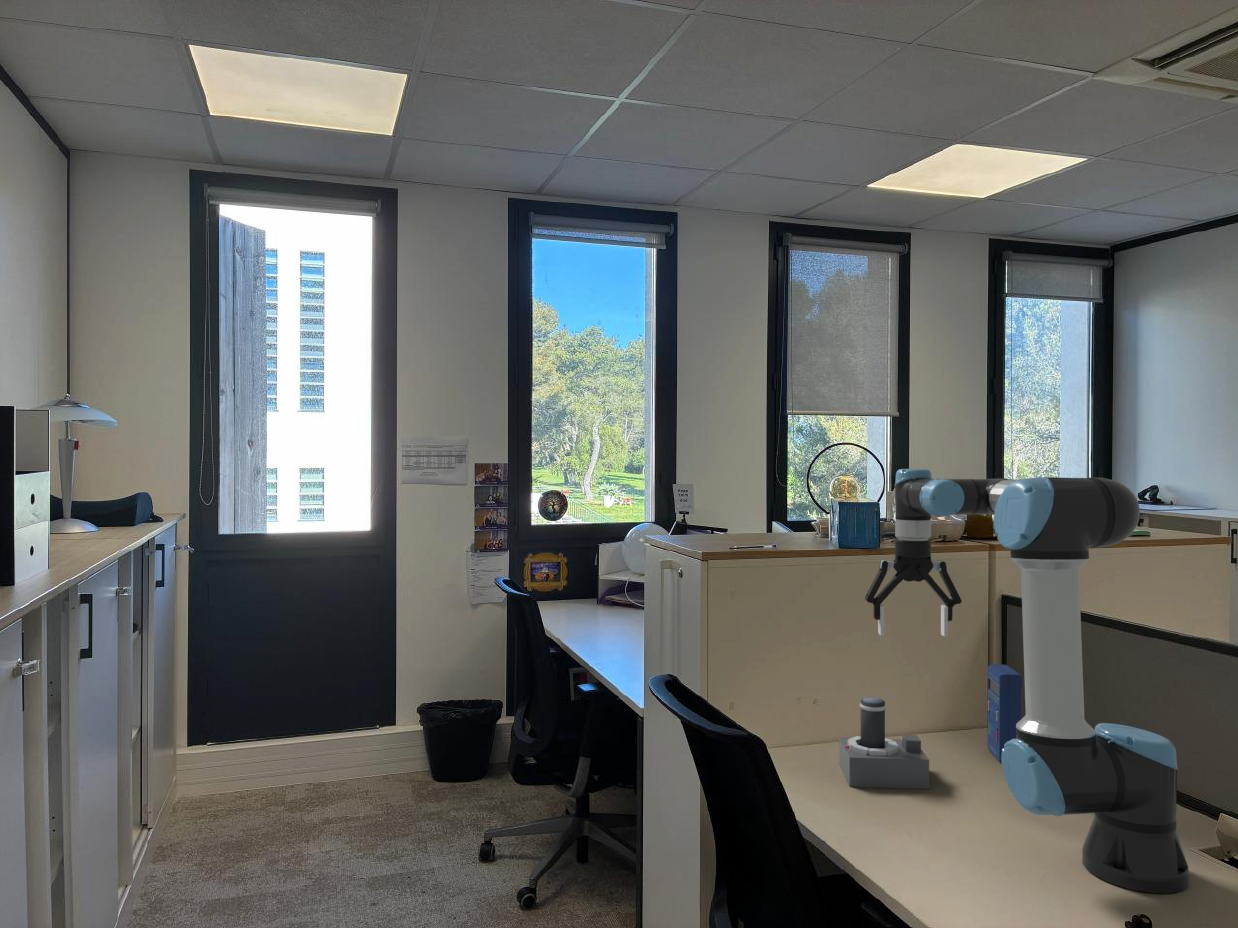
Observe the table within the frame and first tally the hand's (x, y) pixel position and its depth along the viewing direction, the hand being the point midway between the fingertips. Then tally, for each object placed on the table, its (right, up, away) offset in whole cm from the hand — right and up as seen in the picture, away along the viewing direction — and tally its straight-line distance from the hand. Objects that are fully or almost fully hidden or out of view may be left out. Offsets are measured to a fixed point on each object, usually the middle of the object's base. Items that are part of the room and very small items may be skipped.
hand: (912, 635), depth 194 cm
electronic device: (+23, -29, +5) cm, 37 cm away
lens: (-11, -23, -7) cm, 26 cm away
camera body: (-9, -29, -7) cm, 31 cm away
